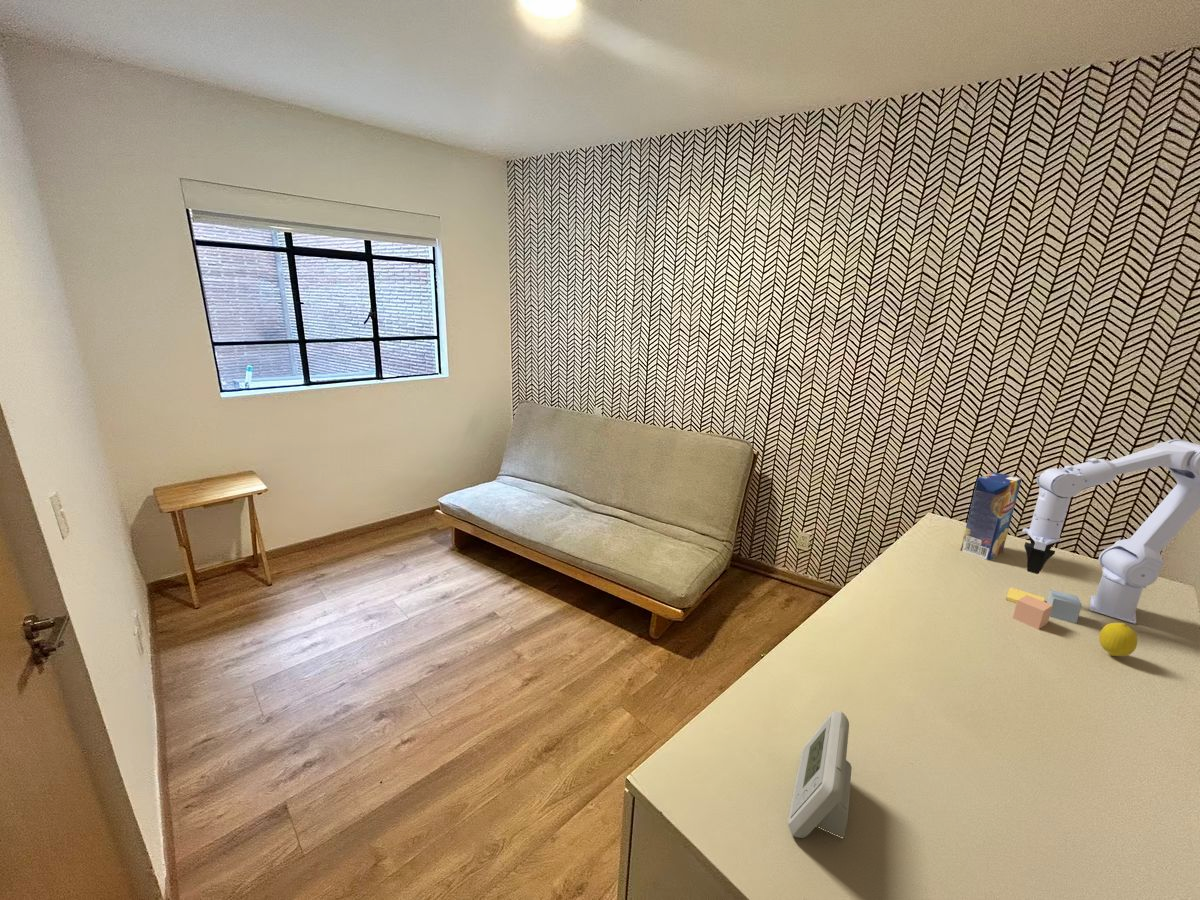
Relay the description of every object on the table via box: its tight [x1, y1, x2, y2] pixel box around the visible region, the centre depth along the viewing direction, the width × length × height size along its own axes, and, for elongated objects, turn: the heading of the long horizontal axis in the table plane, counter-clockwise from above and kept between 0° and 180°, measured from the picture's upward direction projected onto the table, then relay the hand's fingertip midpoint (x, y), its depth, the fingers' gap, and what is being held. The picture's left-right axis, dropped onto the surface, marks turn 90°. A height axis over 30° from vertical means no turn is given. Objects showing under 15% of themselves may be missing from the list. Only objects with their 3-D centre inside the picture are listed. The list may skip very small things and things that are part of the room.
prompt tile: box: [1005, 586, 1045, 604], centre depth 127 cm, size 7×7×1 cm
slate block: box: [1046, 589, 1083, 624], centre depth 121 cm, size 5×5×5 cm
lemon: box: [1098, 622, 1138, 657], centre depth 106 cm, size 6×6×8 cm
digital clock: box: [787, 710, 853, 839], centre depth 71 cm, size 16×9×11 cm, turn 139°
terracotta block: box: [1012, 595, 1053, 630], centre depth 118 cm, size 5×5×5 cm
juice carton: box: [960, 471, 1023, 561], centre depth 152 cm, size 12×8×24 cm, turn 125°
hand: (1034, 567), depth 125 cm, fingers open, 7 cm apart
